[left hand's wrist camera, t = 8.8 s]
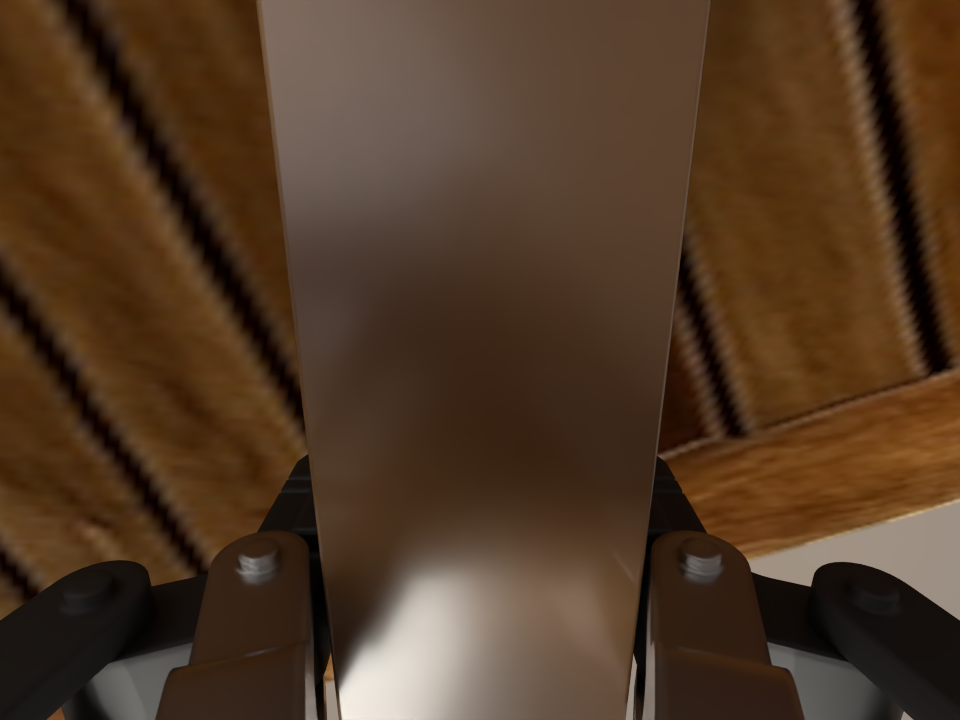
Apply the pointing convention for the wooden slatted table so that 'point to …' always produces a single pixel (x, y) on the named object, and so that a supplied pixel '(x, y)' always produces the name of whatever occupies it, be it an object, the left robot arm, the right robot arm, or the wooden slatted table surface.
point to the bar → (482, 332)
